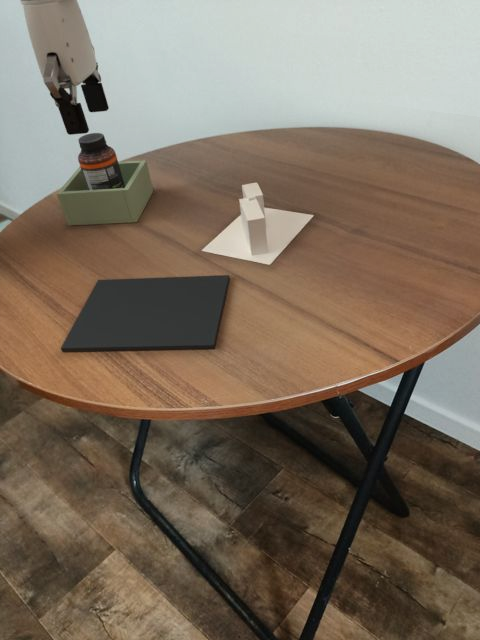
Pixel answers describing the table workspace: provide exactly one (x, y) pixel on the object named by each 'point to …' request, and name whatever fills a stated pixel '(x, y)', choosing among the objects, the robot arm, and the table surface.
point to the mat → (150, 314)
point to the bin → (107, 197)
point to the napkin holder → (257, 230)
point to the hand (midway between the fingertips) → (89, 121)
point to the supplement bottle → (99, 163)
